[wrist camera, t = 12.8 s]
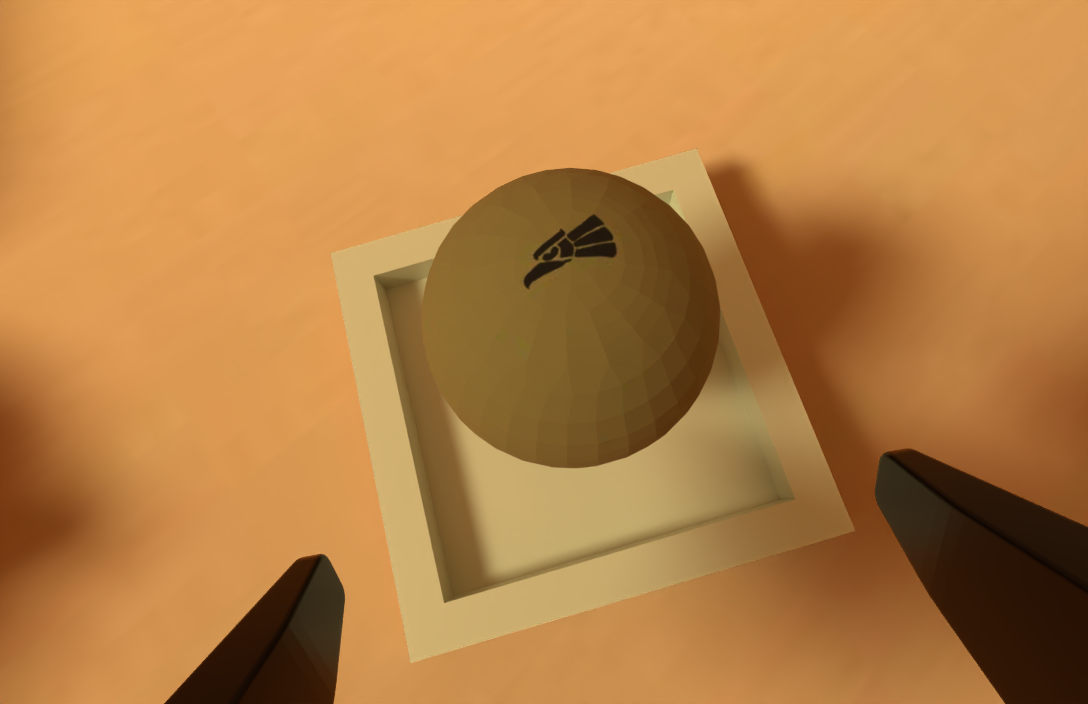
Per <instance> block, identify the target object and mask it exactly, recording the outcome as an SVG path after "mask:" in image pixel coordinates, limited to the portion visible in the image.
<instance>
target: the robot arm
mask: <svg viewBox="0 0 1088 704" xmlns="http://www.w3.org/2000/svg"><path fill="white" fill-rule="evenodd" d="M875 497H876V501H877V503H878V506H879V508H880V509H881V511H882V513H883V515H884V517H885V518H886V520H887V522H888V524H889V525H890V527H891V529H892V531H893V533H894V534H895V536H896V538H897V540H898V541H899V543H900V545H901V547H902V549H903V550H904V552H905V554H906V556H907V557H908V559H909V561H910V563H911V565H912V566H913V568H914V570H915V572H916V573H917V575H918V577H919V579H920V580H921V582H922V584H923V585H924V587H925V589H926V590H927V592H928V594H929V595H930V597H931V598H932V600H933V601H934V603H935V604H936V606H937V607H938V609H939V610H940V612H941V613H942V614H943V616H944V617H945V619H946V620H947V621H948V623H949V624H950V626H951V627H952V629H953V630H954V631H955V633H956V634H957V636H958V637H959V639H960V640H961V641H962V643H963V644H964V646H965V647H966V649H967V650H968V651H969V653H970V654H971V656H972V657H973V659H974V660H975V661H976V663H977V664H978V666H979V667H980V668H981V670H982V671H983V673H984V674H985V676H986V677H987V678H988V680H989V681H990V683H991V684H992V686H993V687H994V688H995V690H996V691H997V693H998V694H999V696H1000V697H1001V698H1002V700H1003V701H1004V703H1005V704H1088V527H1087V526H1084V525H1082V524H1080V523H1078V522H1075V521H1073V520H1071V519H1069V518H1066V517H1064V516H1062V515H1060V514H1057V513H1055V512H1053V511H1051V510H1048V509H1046V508H1044V507H1042V506H1039V505H1037V504H1035V503H1033V502H1030V501H1028V500H1026V499H1024V498H1021V497H1019V496H1017V495H1015V494H1012V493H1010V492H1008V491H1006V490H1003V489H1001V488H999V487H997V486H994V485H992V484H990V483H988V482H985V481H983V480H981V479H979V478H976V477H974V476H972V475H970V474H967V473H965V472H963V471H961V470H958V469H956V468H954V467H952V466H949V465H947V464H945V463H943V462H940V461H938V460H936V459H934V458H931V457H929V456H927V455H925V454H922V453H920V452H918V451H916V450H913V449H901V450H895V451H890V452H886V453H884V454H883V455H882V456H881V457H880V461H879V467H878V474H877V480H876V486H875ZM344 604H345V594H344V589H343V586H342V584H341V582H340V580H339V578H338V576H337V574H336V572H335V570H334V568H333V566H332V564H331V562H330V560H329V559H328V557H327V556H325V555H324V554H318V555H312V556H307V557H302V558H299V559H298V560H296V561H295V562H294V563H293V564H292V565H291V566H290V567H289V569H288V570H287V571H286V572H285V573H284V574H283V575H282V576H281V577H280V578H279V579H278V580H277V582H276V583H275V584H274V585H273V586H272V587H271V588H270V589H269V590H268V591H267V592H266V594H265V595H264V596H263V597H262V598H261V599H260V600H259V601H258V602H257V603H256V604H255V605H254V607H253V608H252V609H251V610H250V611H249V612H248V613H247V614H246V615H245V616H244V617H243V619H242V620H241V621H240V622H239V623H238V624H237V625H236V626H235V627H234V628H233V629H232V630H231V632H230V633H229V634H228V635H227V636H226V637H225V638H224V639H223V640H222V641H221V642H220V644H219V645H218V646H217V647H216V648H215V649H214V650H213V651H212V652H211V653H210V654H209V655H208V657H207V658H206V659H205V660H204V661H203V662H202V663H201V664H200V665H199V666H198V667H197V669H196V670H195V671H194V672H193V673H192V674H191V675H190V676H189V677H188V678H187V679H186V680H185V682H184V683H183V684H182V685H181V686H180V687H179V688H178V689H177V690H176V691H175V692H174V694H173V695H172V696H171V697H170V698H169V699H168V700H167V701H166V702H165V703H164V704H333V703H334V697H335V690H336V682H337V672H338V662H339V653H340V643H341V633H342V623H343V614H344Z"/></svg>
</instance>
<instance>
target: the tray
mask: <svg viewBox="0 0 1088 704" xmlns="http://www.w3.org/2000/svg"><path fill="white" fill-rule="evenodd" d="M609 174H613V175H617V176H620V177H622V178H625V179H627V180H629V181H631V182H633V183H635V184H638V185H640V186H642V187H644V188H645V189H647V190H648V191H650V192H651V193H653V194H654V195H656V196H657V197H658V198H660V199H661V200H663V201H664V202H665V203H667V204H668V205H670V206H671V207H672V208H673V209H674V210H675V211H676V212H677V213H678V214H679V215H680V217H681V218H682V219H683V220H684V221H685V222H686V223H687V224H688V225H689V226H690V228H691V229H692V231H693V232H694V234H695V235H696V237H697V239H698V240H699V242H700V243H701V245H702V246H703V248H704V251H705V253H706V256H707V258H708V261H709V263H710V266H711V268H712V271H713V274H714V277H715V280H716V285H717V291H718V297H719V303H720V328H719V343H718V346H717V350H716V354H715V358H714V362H713V366H712V369H711V372H710V374H709V376H708V378H707V380H706V382H705V384H704V386H703V388H702V390H701V392H700V394H699V396H698V398H697V399H696V401H695V402H694V404H693V405H692V407H691V408H690V409H689V411H688V412H687V413H686V415H685V416H684V417H683V418H682V419H681V420H680V421H679V422H678V423H677V424H676V425H675V426H674V427H673V428H672V429H671V430H670V431H669V432H668V433H667V434H666V435H664V436H663V437H661V438H660V439H658V440H657V441H656V442H654V443H653V444H651V445H650V446H648V447H646V448H644V449H642V450H640V451H638V452H637V453H635V454H633V455H631V456H629V457H627V458H623V459H620V460H616V461H613V462H609V463H606V464H602V465H599V466H594V467H586V468H555V467H549V466H544V465H540V464H535V463H531V462H526V461H522V460H520V459H518V458H516V457H513V456H511V455H509V454H507V453H505V452H502V451H500V450H498V449H496V448H494V447H493V446H491V445H490V444H488V443H487V442H486V441H484V440H483V439H481V438H480V437H478V436H477V435H476V434H475V433H474V432H472V431H471V430H470V429H469V428H468V427H467V426H466V425H465V424H464V423H463V422H462V421H461V420H460V419H459V418H458V416H457V415H456V414H455V412H454V411H453V410H452V408H451V407H450V405H449V404H448V403H447V401H446V400H445V399H444V397H443V396H442V395H441V392H440V390H439V388H438V386H437V384H436V381H435V379H434V377H433V375H432V373H431V371H430V368H429V365H428V361H427V356H426V352H425V348H424V343H423V339H422V300H423V295H424V290H425V285H426V281H427V277H428V274H429V270H430V268H431V265H432V263H433V260H434V258H435V256H436V253H437V251H438V248H439V246H440V245H441V243H442V242H443V240H444V239H445V237H446V236H447V234H448V233H449V231H450V230H451V228H452V227H453V225H454V224H455V223H456V222H457V221H458V220H459V219H460V218H461V217H462V216H463V215H462V216H458V217H455V218H451V219H448V220H444V221H441V222H437V223H434V224H430V225H427V226H423V227H420V228H416V229H413V230H409V231H406V232H402V233H399V234H395V235H392V236H388V237H385V238H381V239H378V240H374V241H371V242H367V243H364V244H360V245H357V246H353V247H350V248H346V249H343V250H339V251H336V252H332V253H331V258H332V263H333V268H334V273H335V278H336V283H337V288H338V293H339V299H340V304H341V309H342V314H343V319H344V324H345V329H346V334H347V340H348V345H349V350H350V355H351V360H352V365H353V370H354V375H355V380H356V386H357V391H358V396H359V401H360V406H361V411H362V416H363V421H364V427H365V432H366V437H367V442H368V447H369V452H370V457H371V462H372V467H373V473H374V478H375V483H376V488H377V493H378V498H379V503H380V508H381V514H382V519H383V524H384V529H385V534H386V539H387V544H388V549H389V554H390V560H391V565H392V570H393V575H394V580H395V585H396V590H397V595H398V601H399V606H400V611H401V616H402V621H403V626H404V631H405V636H406V641H407V647H408V652H409V657H410V662H411V663H413V662H416V661H420V660H423V659H427V658H430V657H433V656H437V655H440V654H443V653H447V652H450V651H453V650H457V649H460V648H464V647H467V646H470V645H474V644H477V643H480V642H484V641H487V640H491V639H494V638H497V637H501V636H504V635H507V634H511V633H514V632H517V631H521V630H524V629H528V628H531V627H534V626H538V625H541V624H544V623H548V622H551V621H555V620H558V619H561V618H565V617H568V616H571V615H575V614H578V613H581V612H585V611H588V610H592V609H595V608H598V607H602V606H605V605H608V604H612V603H615V602H619V601H622V600H625V599H629V598H632V597H635V596H639V595H642V594H645V593H649V592H652V591H656V590H659V589H662V588H666V587H669V586H672V585H676V584H679V583H683V582H686V581H689V580H693V579H696V578H699V577H703V576H706V575H709V574H713V573H716V572H720V571H723V570H726V569H730V568H733V567H736V566H740V565H743V564H747V563H750V562H753V561H757V560H760V559H763V558H767V557H770V556H773V555H777V554H780V553H784V552H787V551H790V550H794V549H797V548H800V547H804V546H807V545H811V544H814V543H817V542H821V541H824V540H827V539H831V538H834V537H837V536H841V535H844V534H848V533H851V532H854V531H855V529H854V526H853V524H852V521H851V519H850V517H849V514H848V512H847V509H846V507H845V505H844V502H843V500H842V497H841V495H840V493H839V490H838V488H837V485H836V483H835V480H834V478H833V476H832V473H831V471H830V468H829V466H828V464H827V461H826V459H825V456H824V454H823V452H822V449H821V447H820V444H819V442H818V439H817V437H816V435H815V432H814V430H813V427H812V425H811V423H810V420H809V418H808V415H807V413H806V411H805V408H804V406H803V403H802V401H801V398H800V396H799V394H798V391H797V389H796V386H795V384H794V382H793V379H792V377H791V374H790V372H789V370H788V367H787V365H786V362H785V360H784V357H783V355H782V353H781V350H780V348H779V345H778V343H777V341H776V338H775V336H774V333H773V331H772V329H771V326H770V324H769V321H768V319H767V317H766V314H765V312H764V309H763V307H762V304H761V302H760V300H759V297H758V295H757V292H756V290H755V288H754V285H753V283H752V280H751V278H750V276H749V273H748V271H747V268H746V266H745V263H744V261H743V259H742V256H741V254H740V251H739V249H738V247H737V244H736V242H735V239H734V237H733V235H732V232H731V230H730V227H729V225H728V222H727V220H726V218H725V215H724V213H723V210H722V208H721V206H720V203H719V201H718V198H717V196H716V194H715V191H714V189H713V186H712V184H711V181H710V179H709V177H708V174H707V172H706V169H705V167H704V165H703V162H702V160H701V157H700V155H699V153H698V150H697V148H696V149H692V150H689V151H685V152H682V153H678V154H675V155H671V156H668V157H664V158H661V159H657V160H654V161H650V162H647V163H643V164H640V165H636V166H633V167H629V168H626V169H623V170H619V171H616V172H612V173H609Z"/></svg>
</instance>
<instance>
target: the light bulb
mask: <svg viewBox="0 0 1088 704" xmlns="http://www.w3.org/2000/svg"><path fill="white" fill-rule="evenodd" d="M719 328H720V303H719V297H718V291H717V285H716V280H715V277H714V274H713V271H712V268H711V266H710V263H709V261H708V258H707V256H706V253H705V251H704V248H703V246H702V245H701V243H700V242H699V240H698V239H697V237H696V235H695V234H694V232H693V231H692V229H691V228H690V226H689V225H688V224H687V223H686V222H685V221H684V220H683V219H682V218H681V217H680V215H679V214H678V213H677V212H676V211H675V210H674V209H673V208H672V207H671V206H670V205H668V204H667V203H665V202H664V201H663V200H661V199H660V198H658V197H657V196H656V195H654V194H653V193H651V192H650V191H648V190H647V189H645V188H644V187H642V186H640V185H638V184H635V183H633V182H631V181H629V180H627V179H625V178H622V177H620V176H617V175H613V174H609V173H605V172H601V171H597V170H589V169H577V168H565V169H554V170H545V171H541V172H537V173H534V174H530V175H526V176H522V177H520V178H518V179H515V180H513V181H511V182H509V183H507V184H505V185H503V186H500V187H498V188H497V189H495V190H494V191H493V192H491V193H490V194H488V195H487V196H485V197H484V198H483V199H481V200H480V201H478V202H477V203H476V204H474V205H473V206H472V207H471V208H470V209H469V210H468V211H467V212H466V213H465V214H464V215H463V216H462V217H461V218H460V219H459V220H458V221H457V222H456V223H455V224H454V225H453V227H452V228H451V230H450V231H449V233H448V234H447V236H446V237H445V239H444V240H443V242H442V243H441V245H440V246H439V248H438V251H437V253H436V256H435V258H434V260H433V263H432V265H431V268H430V270H429V274H428V277H427V281H426V285H425V290H424V295H423V300H422V339H423V343H424V348H425V352H426V356H427V361H428V365H429V368H430V371H431V373H432V375H433V377H434V379H435V381H436V384H437V386H438V388H439V390H440V392H441V395H442V396H443V397H444V399H445V400H446V401H447V403H448V404H449V405H450V407H451V408H452V410H453V411H454V412H455V414H456V415H457V416H458V418H459V419H460V420H461V421H462V422H463V423H464V424H465V425H466V426H467V427H468V428H469V429H470V430H471V431H472V432H474V433H475V434H476V435H477V436H478V437H480V438H481V439H483V440H484V441H486V442H487V443H488V444H490V445H491V446H493V447H494V448H496V449H498V450H500V451H502V452H505V453H507V454H509V455H511V456H513V457H516V458H518V459H520V460H522V461H526V462H531V463H535V464H540V465H544V466H549V467H555V468H586V467H594V466H599V465H602V464H606V463H609V462H613V461H616V460H620V459H623V458H627V457H629V456H631V455H633V454H635V453H637V452H638V451H640V450H642V449H644V448H646V447H648V446H650V445H651V444H653V443H654V442H656V441H657V440H658V439H660V438H661V437H663V436H664V435H666V434H667V433H668V432H669V431H670V430H671V429H672V428H673V427H674V426H675V425H676V424H677V423H678V422H679V421H680V420H681V419H682V418H683V417H684V416H685V415H686V413H687V412H688V411H689V409H690V408H691V407H692V405H693V404H694V402H695V401H696V399H697V398H698V396H699V394H700V392H701V390H702V388H703V386H704V384H705V382H706V380H707V378H708V376H709V374H710V372H711V369H712V366H713V362H714V358H715V354H716V350H717V346H718V343H719Z"/></svg>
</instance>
